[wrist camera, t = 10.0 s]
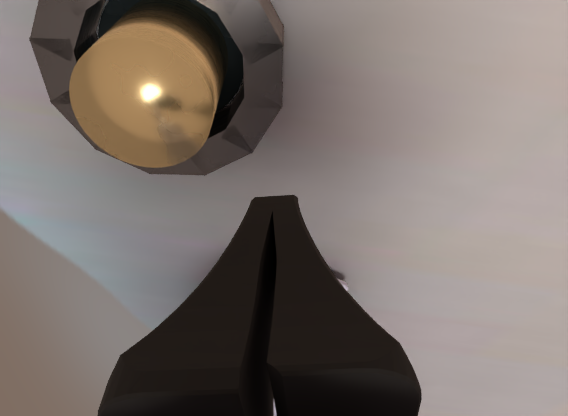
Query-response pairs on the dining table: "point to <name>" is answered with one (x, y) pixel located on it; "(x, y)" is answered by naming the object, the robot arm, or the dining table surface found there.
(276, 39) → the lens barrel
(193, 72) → the gold metal cylinder
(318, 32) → the dining table surface
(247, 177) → the dining table surface
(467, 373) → the dining table surface
